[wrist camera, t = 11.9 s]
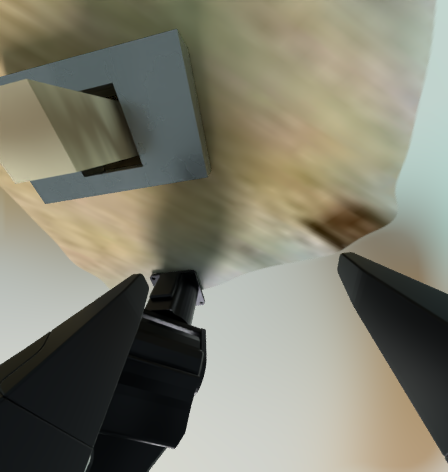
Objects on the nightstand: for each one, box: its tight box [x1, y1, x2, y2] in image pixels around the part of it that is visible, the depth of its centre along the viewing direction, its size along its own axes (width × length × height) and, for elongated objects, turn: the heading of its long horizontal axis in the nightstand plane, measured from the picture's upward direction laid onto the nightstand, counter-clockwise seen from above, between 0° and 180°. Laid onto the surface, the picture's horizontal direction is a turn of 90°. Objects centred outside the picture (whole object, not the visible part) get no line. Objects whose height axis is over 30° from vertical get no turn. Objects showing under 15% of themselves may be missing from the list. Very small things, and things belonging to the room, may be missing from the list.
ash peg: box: [0, 79, 139, 184], centre depth 13 cm, size 4×4×9 cm
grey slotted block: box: [0, 29, 211, 204], centre depth 16 cm, size 9×16×3 cm, turn 100°
